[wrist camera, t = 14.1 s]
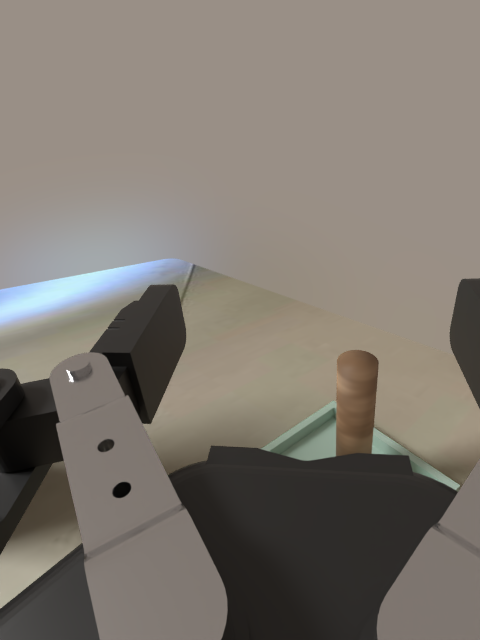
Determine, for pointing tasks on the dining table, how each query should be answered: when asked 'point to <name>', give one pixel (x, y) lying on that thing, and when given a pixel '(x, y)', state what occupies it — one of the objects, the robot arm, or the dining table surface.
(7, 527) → the robot arm
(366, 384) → the dowel
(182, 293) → the dining table surface
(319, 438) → the tray
